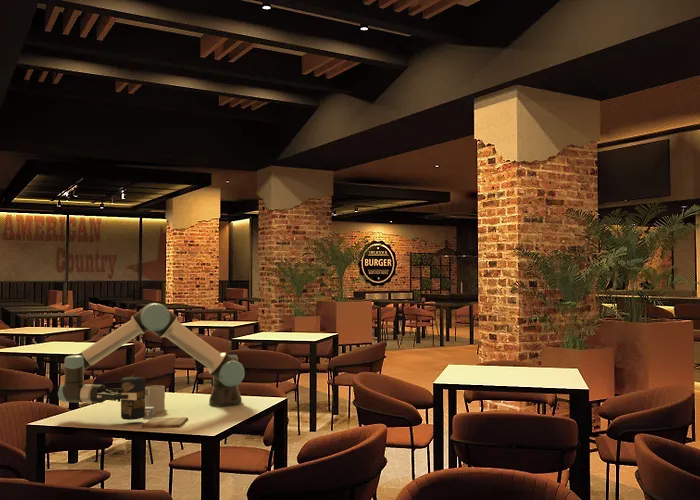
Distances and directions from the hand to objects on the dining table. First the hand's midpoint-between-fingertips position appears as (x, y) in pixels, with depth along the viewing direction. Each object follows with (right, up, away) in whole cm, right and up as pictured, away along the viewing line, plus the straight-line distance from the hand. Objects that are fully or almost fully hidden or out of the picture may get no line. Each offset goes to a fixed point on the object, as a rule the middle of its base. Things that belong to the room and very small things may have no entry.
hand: (142, 394), depth 275 cm
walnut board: (+10, -12, -2) cm, 15 cm away
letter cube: (-2, -13, +13) cm, 19 cm away
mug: (-2, -13, +27) cm, 31 cm away
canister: (-4, -10, 0) cm, 11 cm away
